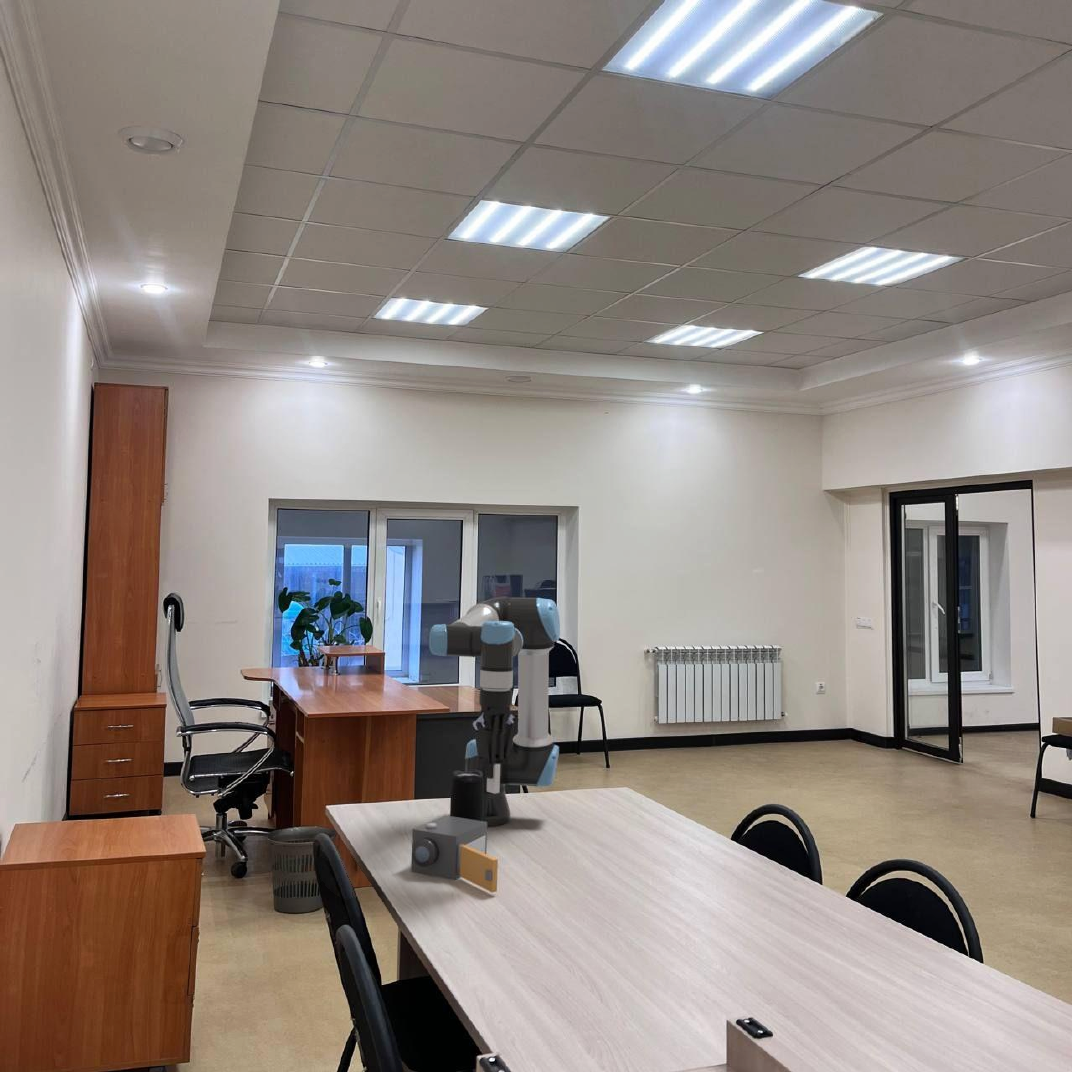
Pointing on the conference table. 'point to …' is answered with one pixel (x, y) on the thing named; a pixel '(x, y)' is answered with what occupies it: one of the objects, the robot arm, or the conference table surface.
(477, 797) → the portable speaker
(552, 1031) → the conference table surface
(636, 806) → the conference table surface
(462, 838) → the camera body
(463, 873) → the side door
